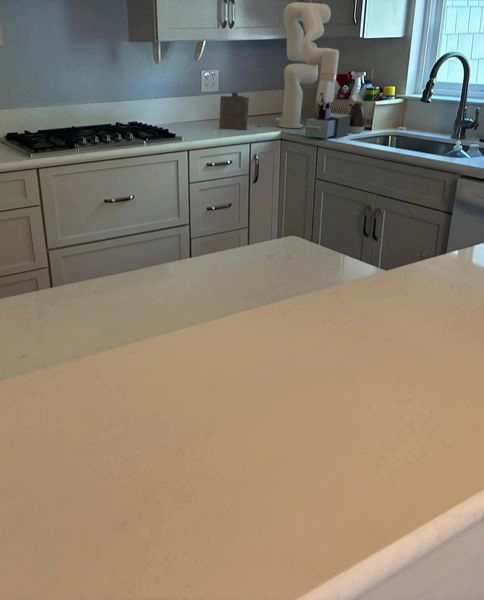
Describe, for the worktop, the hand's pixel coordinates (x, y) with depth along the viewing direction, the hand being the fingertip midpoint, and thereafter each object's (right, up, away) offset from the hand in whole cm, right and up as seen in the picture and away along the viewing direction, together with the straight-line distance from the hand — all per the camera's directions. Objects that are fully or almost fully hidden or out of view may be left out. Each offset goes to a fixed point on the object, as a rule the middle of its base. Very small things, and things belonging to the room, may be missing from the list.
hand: (323, 117), depth 294 cm
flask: (-42, +1, +23) cm, 48 cm away
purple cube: (0, 0, 0) cm, 0 cm away
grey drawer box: (+6, -5, +12) cm, 14 cm away
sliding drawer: (-2, -8, +2) cm, 9 cm away
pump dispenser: (+20, -1, +23) cm, 31 cm away
